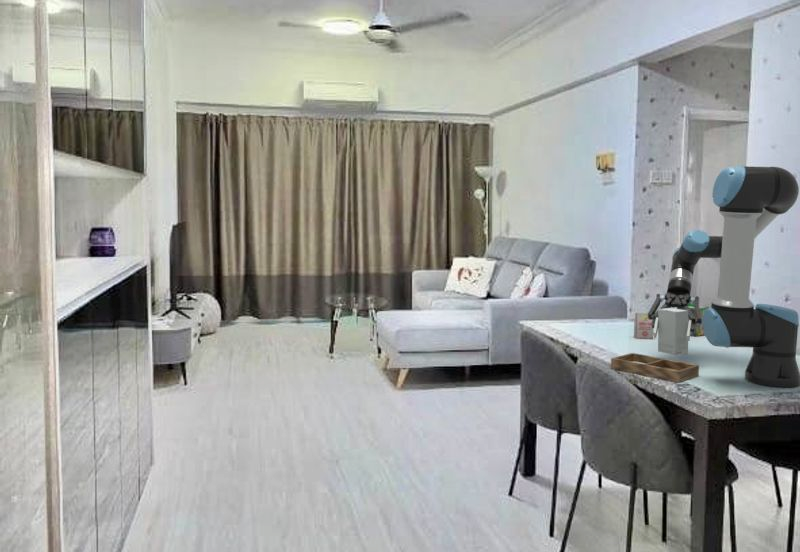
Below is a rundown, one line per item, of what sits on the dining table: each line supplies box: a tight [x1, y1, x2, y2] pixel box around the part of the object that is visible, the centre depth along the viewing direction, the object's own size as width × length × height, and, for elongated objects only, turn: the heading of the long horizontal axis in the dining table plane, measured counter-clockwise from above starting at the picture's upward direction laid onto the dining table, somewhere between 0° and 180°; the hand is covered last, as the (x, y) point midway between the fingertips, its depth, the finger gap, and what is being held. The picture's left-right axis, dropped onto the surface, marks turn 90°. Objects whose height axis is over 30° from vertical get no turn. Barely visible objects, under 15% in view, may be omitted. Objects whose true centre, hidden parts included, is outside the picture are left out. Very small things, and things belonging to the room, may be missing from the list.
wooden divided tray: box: [610, 352, 700, 383], centre depth 226 cm, size 23×13×3 cm, turn 41°
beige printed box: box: [633, 312, 654, 340], centre depth 280 cm, size 4×7×10 cm, turn 81°
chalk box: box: [676, 301, 710, 337], centre depth 289 cm, size 9×9×15 cm
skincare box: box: [657, 307, 689, 356], centre depth 236 cm, size 8×6×15 cm
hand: (671, 336), depth 233 cm, fingers closed on skincare box, 10 cm apart
